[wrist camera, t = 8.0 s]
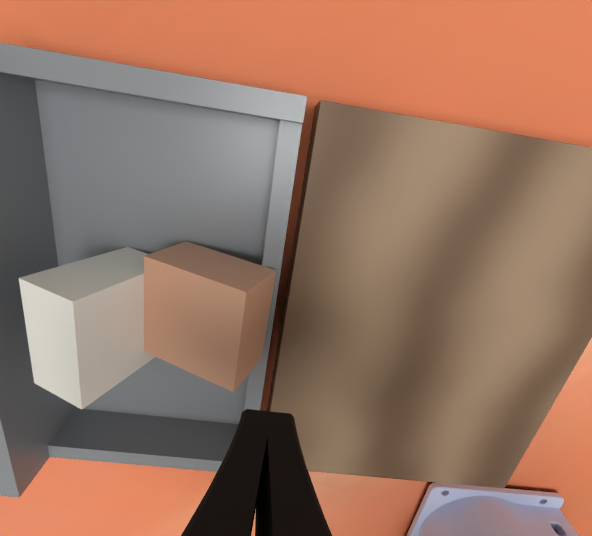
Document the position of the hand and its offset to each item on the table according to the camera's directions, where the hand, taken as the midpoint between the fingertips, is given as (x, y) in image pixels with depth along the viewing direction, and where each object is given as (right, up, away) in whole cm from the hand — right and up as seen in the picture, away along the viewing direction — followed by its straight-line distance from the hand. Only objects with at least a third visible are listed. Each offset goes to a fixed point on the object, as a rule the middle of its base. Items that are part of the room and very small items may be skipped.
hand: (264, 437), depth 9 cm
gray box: (-6, +4, +7) cm, 10 cm away
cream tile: (-6, +2, +4) cm, 7 cm away
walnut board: (+7, +2, +8) cm, 11 cm away
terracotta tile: (-2, +3, +6) cm, 7 cm away
